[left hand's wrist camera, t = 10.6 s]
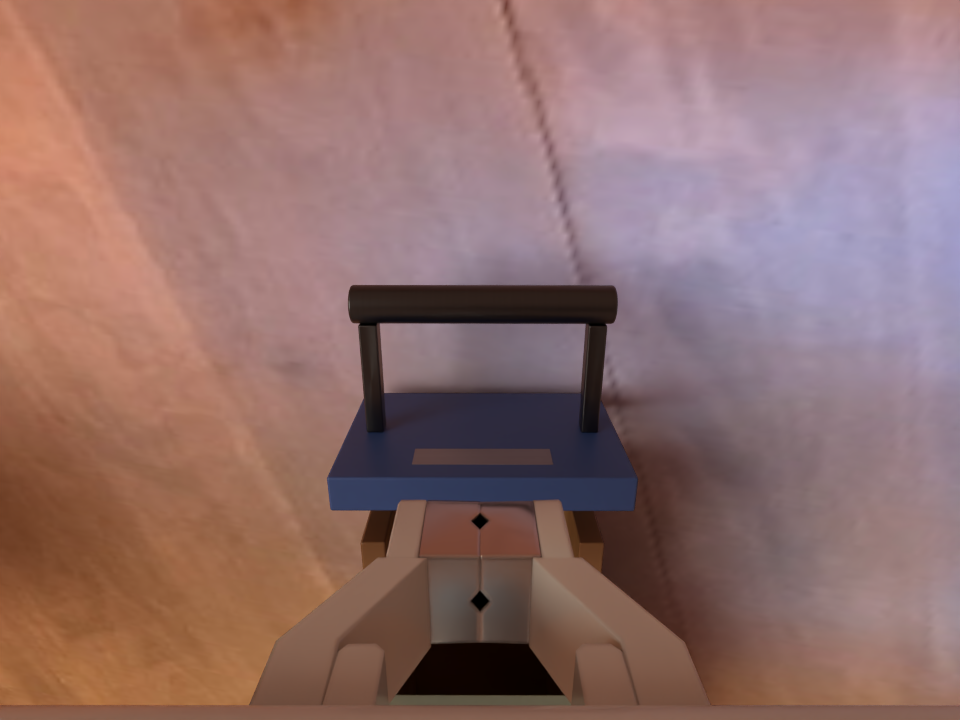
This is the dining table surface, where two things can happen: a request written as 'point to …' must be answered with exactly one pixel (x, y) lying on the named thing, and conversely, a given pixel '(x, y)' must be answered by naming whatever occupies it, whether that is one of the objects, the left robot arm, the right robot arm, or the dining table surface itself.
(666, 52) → the dining table surface
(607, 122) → the dining table surface
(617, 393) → the dining table surface
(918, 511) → the dining table surface
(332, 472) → the drawer
